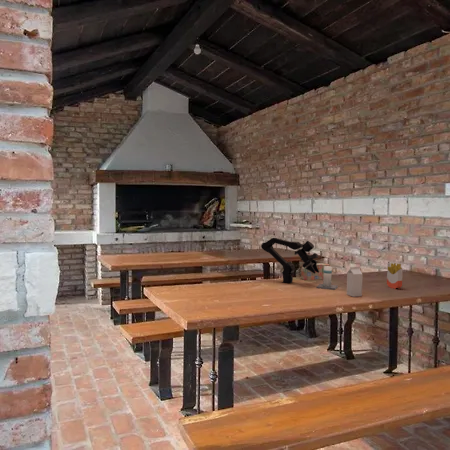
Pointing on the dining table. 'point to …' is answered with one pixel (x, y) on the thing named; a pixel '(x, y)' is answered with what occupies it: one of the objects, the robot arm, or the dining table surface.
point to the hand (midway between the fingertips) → (317, 272)
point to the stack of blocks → (310, 275)
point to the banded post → (327, 276)
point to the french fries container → (394, 276)
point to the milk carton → (354, 282)
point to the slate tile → (327, 287)
